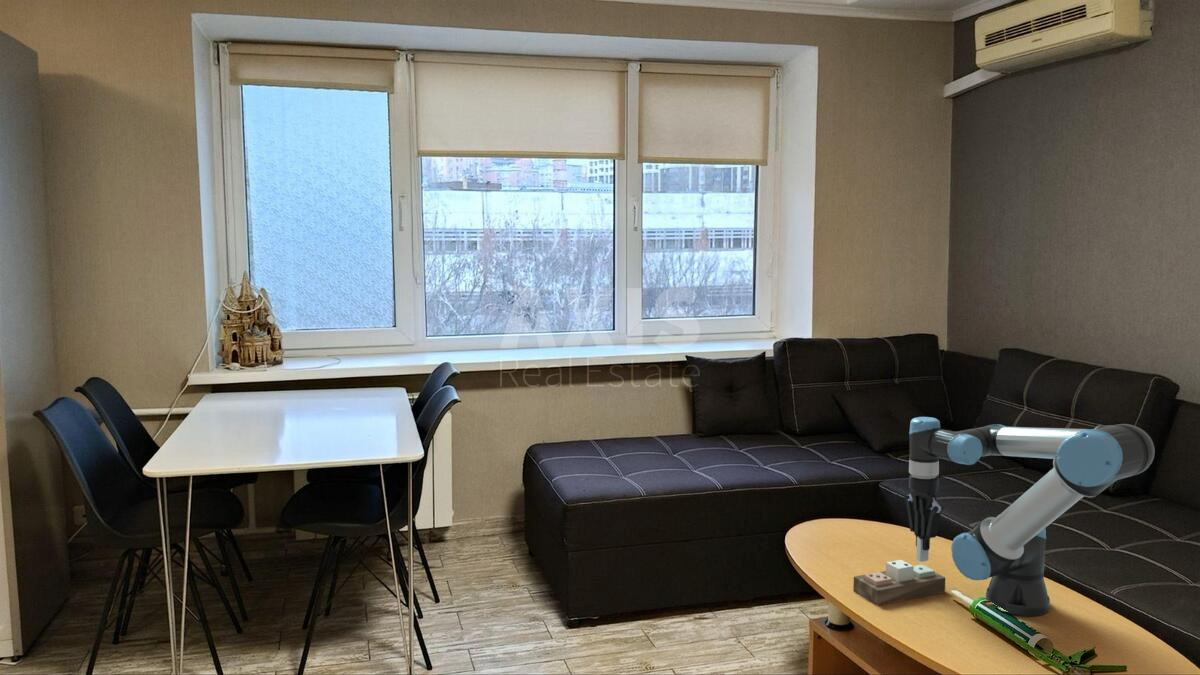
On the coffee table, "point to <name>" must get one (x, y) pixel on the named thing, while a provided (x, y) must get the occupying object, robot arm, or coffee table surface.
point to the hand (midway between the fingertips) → (922, 560)
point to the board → (899, 588)
